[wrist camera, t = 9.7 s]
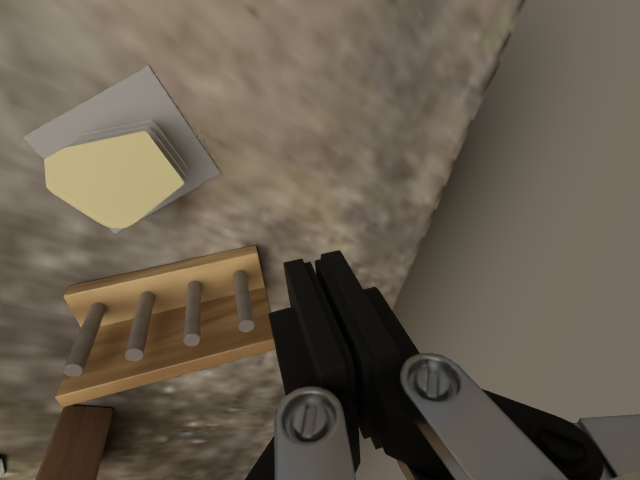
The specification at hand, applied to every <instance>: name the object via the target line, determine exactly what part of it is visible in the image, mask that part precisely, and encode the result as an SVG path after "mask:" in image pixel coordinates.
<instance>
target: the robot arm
mask: <svg viewBox="0 0 640 480" xmlns="http://www.w3.org/2000/svg"><path fill="white" fill-rule="evenodd" d="M315 267H316V273H315V271H314V269H313V266H312V264H311V262H307V263H304V261H303V259H298V260H293V261H289V262H284V270H285V276H286V282H287V288H288V294H289V300H290V306H291V308H287V309H283V310H279V311H275V312H271V313H268V316H269V321H270V325H271V330H272V335H273V339H274V344H275V348H276V353H277V358H278V362H279V367H280V371H281V376H282V380H283V385H284V390H285V394H286V397H285V398H284V399H283V400H282V401H281V402H280V404H279V406H278V408H277V410H276V413H275V420H274V437H273V438H272V440H271V441H270V443H269V444H268V446H267V447H266V449H265V450H264V452H263V453H262V455H261V456H260V458H259V459H258V461H257V462H256V464H255V465H254V467H253V468H252V470H251V471H250V473H249V474H248V476H247V477H246V479H245V480H356V477H355V473H356V471H357V468H358V466H359V464H360V446H359V428H360V431H361V433H362V436H363V437H364V439H365V438H369V437H371V439H372V442H373V444H374V447H375V449H378V448H381V447H383V449H384V451H385V454H387V455H389V456H391V457H393V458H395V459H397V461H398V464H399V466H400V468H401V470H402V472H403V474H404V475H405V477H406V479H407V480H640V414H636V415H622V416H607V417H593V418H580V419H579V421H578V423H571V422H568V421H566V420H565V419H562V418H560V417H557V416H555V415H552V414H549V413H546V412H544V411H541V410H538V409H535V408H533V407H530V406H527V405H525V404H521V403H519V402H516V401H514V400H511V399H508V398H505V397H503V396H500V395H497V394H494V393H491V392H489V391H486V390H483V389H481V388H480V387H479V386H478V385H477V384H476V383H475V382H474V381H473V380H472V379H471V378H470V377H469V376H468V375H467V374H466V372H465V371H464V370H462V368H461V367H460V366H459V365H457V364H456V363H455V362H454V361H452V360H451V359H449V358H447V357H444V356H443V355H439V354H434V353H421V354H420V353H419V352H418V350H417V349H416V347H415V345H414V344H413V342H412V341H411V339H410V338H409V336H408V335H407V333H406V332H405V330H404V328H403V327H402V325H401V324H400V322H399V321H398V319H397V318H396V316H395V314H394V313H393V311H392V310H391V308H390V307H389V305H388V304H387V302H386V301H385V299H384V297H383V296H382V294H381V293H380V291H379V290H378V289H377V288H376V287H372V288H368V289H364V290H363V288H362V287H361V285H360V283H359V282H358V280H357V278H356V277H355V275H354V273H353V272H352V270H351V268H350V266H349V265H348V263H347V261H346V260H345V258H344V256H343V255H342V253H341V251H339V250H338V251H334V252H329V253H325V254H321V259H320V260H316V261H315Z"/></svg>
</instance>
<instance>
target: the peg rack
mask: <svg viewBox="0 0 640 480" xmlns="http://www.w3.org/2000/svg"><path fill="white" fill-rule="evenodd" d="M64 298H65V300H66V302H67V304H68V305H69V307H70V309H71V311H72V312H73V314H74V316H75V318H76V319H77V321H78V323H79V325H80V326H81V329H80V332H79V334H78V336H77V339H76V341H75V343H74V346H73V348H72V350H71V352H70V355H69V357H68V359H67V362H66V364H65V366H64V369H63V372H64V377H63V379H62V382H61V384H60V386H59V389H58V391H57V393H56V396H55V398H56V400H57V401H58V402H59V404H60V405H61V407H66V406H70V405H73V404H77V403H81V402H84V401H88V400H92V399H95V398H99V397H103V396H106V395H110V394H114V393H117V392H121V391H125V390H128V389H132V388H136V387H139V386H143V385H147V384H150V383H154V382H158V381H161V380H165V379H169V378H172V377H176V376H180V375H183V374H187V373H191V372H194V371H198V370H202V369H205V368H209V367H213V366H216V365H220V364H224V363H227V362H231V361H235V360H238V359H242V358H246V357H249V356H253V355H257V354H260V353H264V352H268V351H271V350H275V349H276V348H275V344H274V339H273V335H272V330H271V325H270V321H269V316H268V313H271V310H270V306H269V302H268V297H267V293H266V289H265V284H264V280H263V275H262V271H261V266H260V262H259V257H258V252H257V248H256V246H255V245H254V246H250V247H245V248H241V249H236V250H231V251H227V252H222V253H218V254H213V255H209V256H204V257H200V258H195V259H190V260H186V261H181V262H177V263H172V264H168V265H163V266H159V267H154V268H149V269H145V270H140V271H136V272H131V273H127V274H122V275H117V276H113V277H108V278H104V279H99V280H95V281H90V282H86V283H81V284H76V285H72V286H69V287H68V289H67V290H66V292H65V294H64Z"/></svg>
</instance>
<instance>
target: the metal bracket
mask: <svg viewBox="0 0 640 480" xmlns="http://www.w3.org/2000/svg"><path fill="white" fill-rule="evenodd" d="M4 473H5V470H4V465H3V461H2V459H1V458H0V477H2V476H3V474H4Z"/></svg>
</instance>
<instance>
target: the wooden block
mask: <svg viewBox="0 0 640 480" xmlns="http://www.w3.org/2000/svg"><path fill="white" fill-rule="evenodd" d="M112 414H113V411H112V409H111V408H102V407H86V406H66V407H65V408H64V409H63V410H62V412H61V415H60V418H59V420H58V423H57V425H56V428H55V430H54V433H53V436H52V438H51V441H50V443H49V446H48V448H47V451H46V454H45V456H44V459H43V461H42V464H41V467H40V469H39V472H38V474H37V477H36V480H96V478H97V474H98V470H99V466H100V462H101V458H102V454H103V450H104V446H105V442H106V438H107V434H108V430H109V426H110V422H111V418H112Z"/></svg>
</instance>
